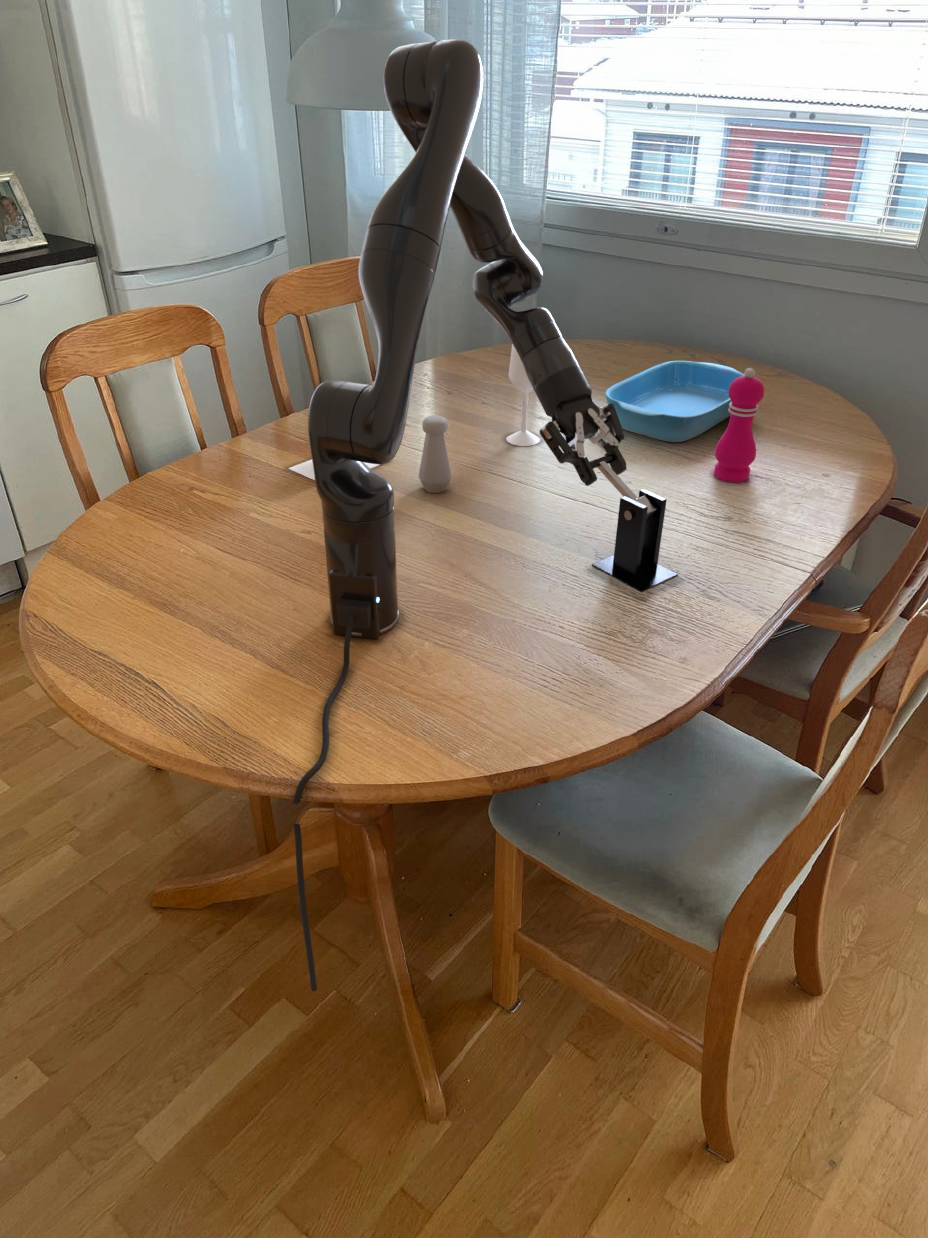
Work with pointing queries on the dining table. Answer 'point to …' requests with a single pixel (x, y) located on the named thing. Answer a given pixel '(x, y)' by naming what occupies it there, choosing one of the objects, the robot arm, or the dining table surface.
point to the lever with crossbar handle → (620, 482)
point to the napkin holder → (308, 469)
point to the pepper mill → (739, 429)
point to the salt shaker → (435, 456)
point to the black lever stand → (638, 545)
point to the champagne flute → (523, 385)
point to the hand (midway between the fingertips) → (606, 477)
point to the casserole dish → (674, 399)
